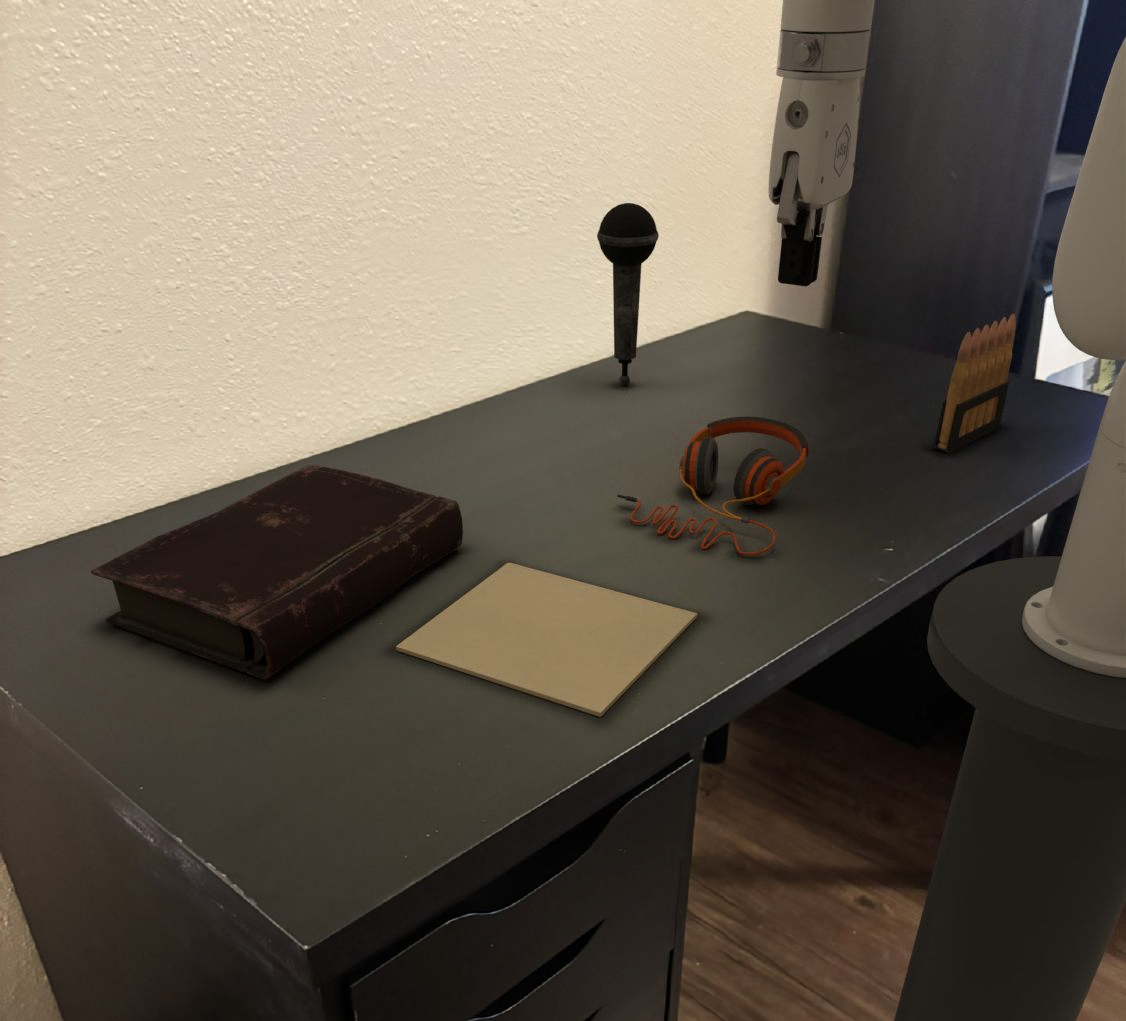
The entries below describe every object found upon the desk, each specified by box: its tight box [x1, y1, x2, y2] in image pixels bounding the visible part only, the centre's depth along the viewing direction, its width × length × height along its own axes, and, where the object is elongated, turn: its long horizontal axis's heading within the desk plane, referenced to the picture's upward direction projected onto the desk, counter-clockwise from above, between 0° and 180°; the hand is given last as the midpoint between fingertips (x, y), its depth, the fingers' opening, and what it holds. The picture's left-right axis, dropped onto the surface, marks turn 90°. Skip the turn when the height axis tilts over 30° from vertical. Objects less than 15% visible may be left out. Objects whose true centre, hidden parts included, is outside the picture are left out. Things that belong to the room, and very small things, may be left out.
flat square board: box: [395, 562, 698, 718], centre depth 87 cm, size 18×16×1 cm
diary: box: [90, 464, 464, 681], centre depth 92 cm, size 19×25×5 cm
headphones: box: [616, 416, 810, 556], centre depth 104 cm, size 17×5×20 cm
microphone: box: [596, 202, 659, 387], centre depth 127 cm, size 7×7×20 cm
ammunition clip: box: [932, 313, 1017, 454], centre depth 115 cm, size 11×2×12 cm, turn 134°
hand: (797, 281), depth 105 cm, fingers closed
